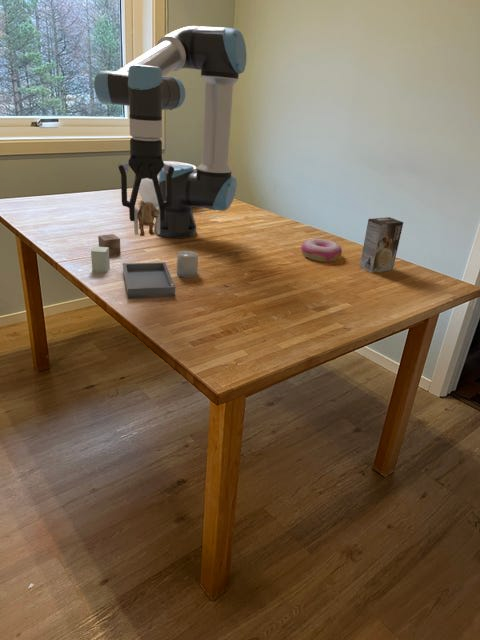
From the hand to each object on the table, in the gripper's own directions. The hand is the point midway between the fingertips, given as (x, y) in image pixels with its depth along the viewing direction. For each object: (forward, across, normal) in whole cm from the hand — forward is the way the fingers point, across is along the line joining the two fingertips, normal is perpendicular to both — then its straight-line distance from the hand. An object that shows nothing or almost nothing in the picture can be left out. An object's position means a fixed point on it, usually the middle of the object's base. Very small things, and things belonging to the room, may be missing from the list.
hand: (147, 232), depth 124 cm
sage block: (+14, +12, -12) cm, 22 cm away
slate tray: (+14, 0, 0) cm, 14 cm away
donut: (+15, -60, -17) cm, 64 cm away
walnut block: (+14, +9, -26) cm, 31 cm away
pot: (+15, -19, -87) cm, 90 cm away
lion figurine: (0, -1, -2) cm, 2 cm away
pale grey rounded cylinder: (+14, -12, -6) cm, 20 cm away
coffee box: (+15, -74, -5) cm, 76 cm away
